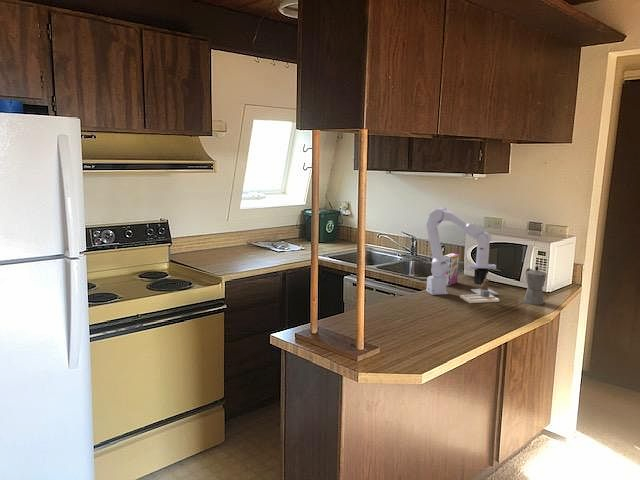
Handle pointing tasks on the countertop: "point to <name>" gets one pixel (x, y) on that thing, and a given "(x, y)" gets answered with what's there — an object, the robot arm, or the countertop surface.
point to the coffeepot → (534, 286)
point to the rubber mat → (478, 291)
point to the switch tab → (484, 293)
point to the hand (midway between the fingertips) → (480, 283)
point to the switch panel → (478, 298)
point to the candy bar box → (452, 268)
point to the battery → (477, 278)
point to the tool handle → (485, 284)
